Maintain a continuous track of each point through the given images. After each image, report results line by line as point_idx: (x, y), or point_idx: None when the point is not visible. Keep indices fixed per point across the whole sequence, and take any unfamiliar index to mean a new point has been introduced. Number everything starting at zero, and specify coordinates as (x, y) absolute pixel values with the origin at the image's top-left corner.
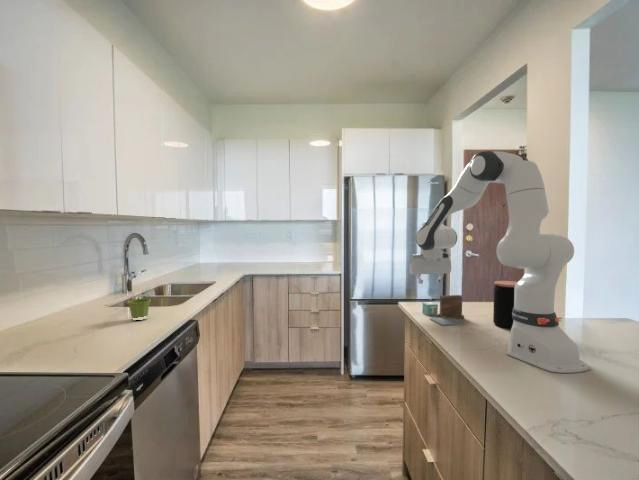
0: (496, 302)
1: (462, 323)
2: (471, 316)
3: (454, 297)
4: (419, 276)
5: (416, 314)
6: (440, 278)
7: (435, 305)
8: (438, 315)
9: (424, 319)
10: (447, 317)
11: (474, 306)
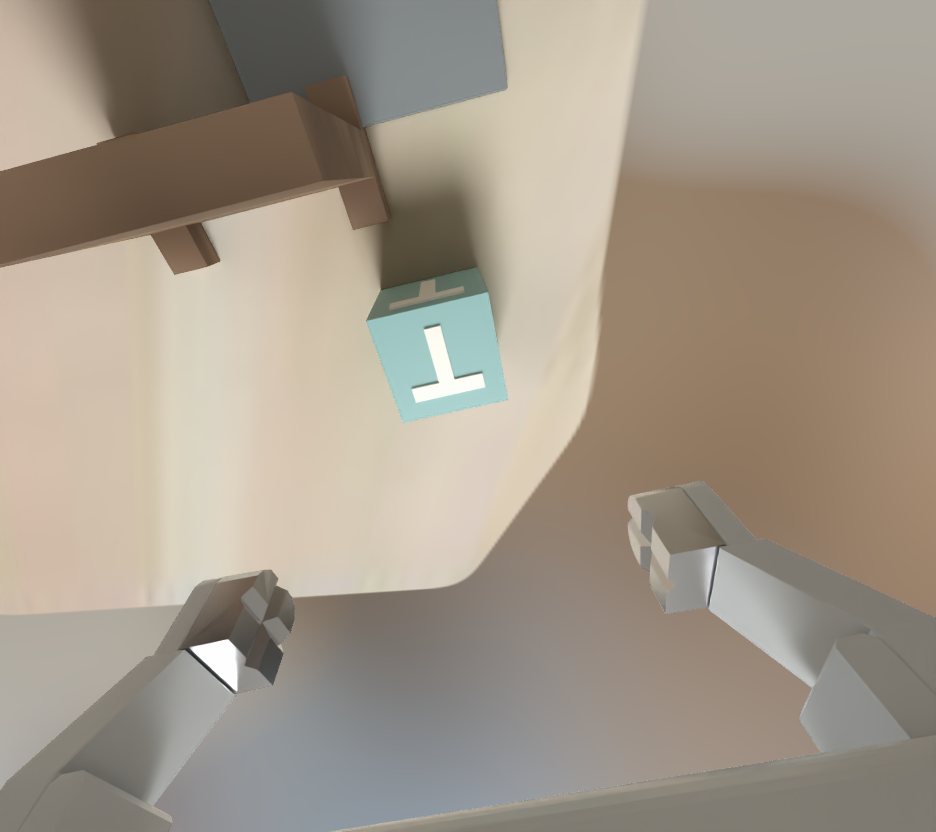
0: None
1: None
2: None
3: (45, 168)
4: (891, 629)
5: (567, 296)
6: (164, 678)
7: (392, 311)
8: (386, 208)
9: (562, 89)
10: None
11: (53, 538)
